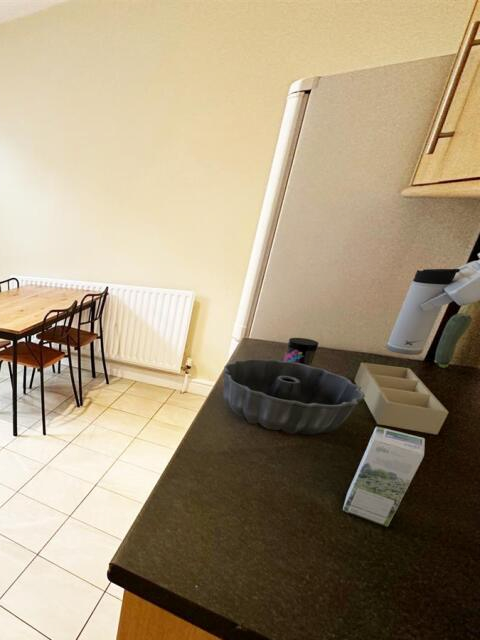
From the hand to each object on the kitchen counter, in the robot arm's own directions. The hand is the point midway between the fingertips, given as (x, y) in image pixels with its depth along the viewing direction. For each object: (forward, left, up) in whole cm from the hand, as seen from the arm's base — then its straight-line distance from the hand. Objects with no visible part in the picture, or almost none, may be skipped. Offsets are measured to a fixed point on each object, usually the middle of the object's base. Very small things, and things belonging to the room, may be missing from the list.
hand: (419, 305), depth 97 cm
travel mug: (-1, 0, -11) cm, 11 cm away
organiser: (-1, +4, -24) cm, 24 cm away
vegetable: (-19, -35, -24) cm, 47 cm away
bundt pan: (+23, +24, -24) cm, 41 cm away
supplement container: (+18, -8, -24) cm, 31 cm away
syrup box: (+12, +56, -24) cm, 62 cm away
